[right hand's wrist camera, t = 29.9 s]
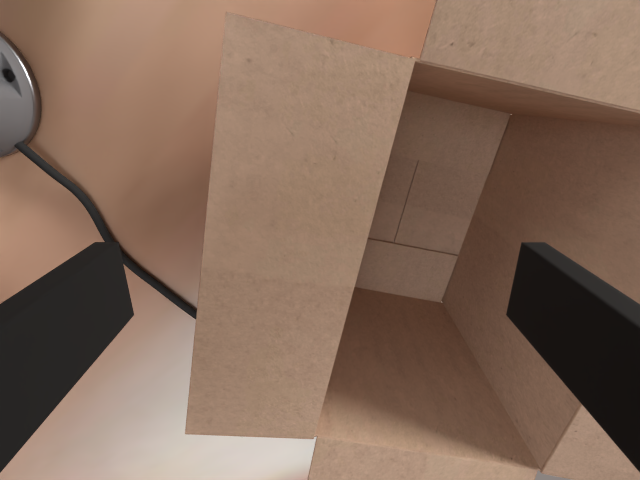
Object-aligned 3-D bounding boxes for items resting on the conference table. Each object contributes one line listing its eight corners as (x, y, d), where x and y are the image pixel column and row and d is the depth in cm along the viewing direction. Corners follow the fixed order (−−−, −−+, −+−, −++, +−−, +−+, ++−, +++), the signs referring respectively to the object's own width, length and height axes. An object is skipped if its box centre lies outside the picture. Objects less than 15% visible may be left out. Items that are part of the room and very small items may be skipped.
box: (478, 361, 56) (611, 584, 30) (243, 321, 53) (173, 528, 28) (619, 43, 40) (1131, -46, 15) (297, -36, 38) (250, -307, 12)
